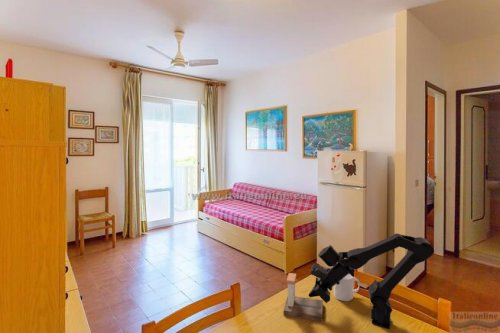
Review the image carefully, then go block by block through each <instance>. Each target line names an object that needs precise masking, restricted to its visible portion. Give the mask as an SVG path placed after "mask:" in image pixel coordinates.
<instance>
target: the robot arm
mask: <svg viewBox="0 0 500 333" xmlns="http://www.w3.org/2000/svg"><path fill="white" fill-rule="evenodd" d="M398 248H403V249H405V250H407V251H406V254H405V255H404V256H403V257H402V258H401V260H400V261H399V262H398V263H396V264H395V266H394V267H393V268H392V269H391V270H390V271H389V273H388V274H387V275H385V277H384V278H383V279H382V280H380V281H378V280H377V279H374V280H373V282H372V283H371V284H370V285H368V291H367V292H368V296H369V300H370V302H371V304H372V307H371V310H370V311H371V312H370V313H371V314H370V319H371V324H372V325H376V326H379V327H382V328H386V329H391V324H392V318H391V317H392V312H393V308H392V307H393V306H392V305H391V301H390V300H389V299H390V297H391V295H392V294H391V293H392V292H393V290H394V289H395V288H396V287H397V286H398V285H399V283H401V282H402V281H403V280H404V279H405V277H406V276H407V275H408V274H409V273H410V272H411V271H412V270H413V269H414V267H415V266H416V265H418V264H421V263H423V262H425V261H427V260H428V259H430V258H431V257H432V256H434V253H435V250H434V246H432V245H431V243H430V242H429V241H428V240H427V239H426V238H424V237H419V236H417V237H414V236H411V235H405V234H401V233H397V232H396V233H394V234H392V235H391V236H389V237H386V238H384V239H382V240H380V241H378V242H375V243H373V244H370V245H368V246H366V247H358V248H353V249H351V250H348V251H339V252H337V250H336V249H335V248H334V247H333V245H331V244H330V245H328V246H326V247H324V248H322V249H321V250H320V251H319V253H318V256H317V257H319V259H321V260H322V262H324V264H326V266H327V268H324V267H323V266H321V265H319V264H317V263H315V262H314V263H313V264H312V265H311V268H310V271H309V273H310V274H311V275H312V276H314V277H315V282H314V285H313V287H312V289H311V290H310V291H309V293H308V298H316V297H320V299H321V300H323V303H325V304H327V303H329V302H330V301H331V291H332V290H333V288H334V285H335V284H337V285H338V284H340V280H342V279H343V278H344V277H345V276H347V275H348V274H350V275H351V276H352V277H355V271H356V270H358V269H361V268H362V267H363V266H366V264H367V263H368V262H369V261H370V260H372V259H374V258H377V257H379V256H381V255H383V254H385V253H388V252H390V251H392V250H396V249H398Z"/></svg>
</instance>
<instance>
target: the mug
mask: <svg viewBox="0 0 500 333" xmlns="http://www.w3.org/2000/svg"><path fill="white" fill-rule="evenodd" d="M355 282H357V284H358V287H357V288H355V289H354V287H355V286H354V283H355ZM360 284H361V283H360V280H359V279H358V278H357V277H355V276H354V277H352V276H351V275H350V274H348V275H347V276H345V277H344V278H343V279H342V280H340V284H338V285H337V284H335V285H334V286H333V295H334V297H335V299H336V300H339V301H342V302H349V301H353V298H354V294H356V293H357V292H358V291H359V289H360V286H361V285H360Z"/></svg>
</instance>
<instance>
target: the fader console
mask: <svg viewBox="0 0 500 333" xmlns="http://www.w3.org/2000/svg"><path fill="white" fill-rule="evenodd" d="M323 304H324V301H323V300H322V299H317V298H311V297H302V296H296V295H295V301H294V306H293V307H291V306H288V295H287V297H286V300H285V304H284V307H283V316H288V317H293V318H300V319H306V320H309V321H311V320H312V321H316V322H318V321H319V322H322V321H323Z"/></svg>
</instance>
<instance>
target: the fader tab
mask: <svg viewBox="0 0 500 333" xmlns="http://www.w3.org/2000/svg"><path fill="white" fill-rule="evenodd" d="M296 280H297V273H292V272H289V273H288V274H287V278H286V285H287V296H288V306H291V307H293V306H294V301H295V296H296Z"/></svg>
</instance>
